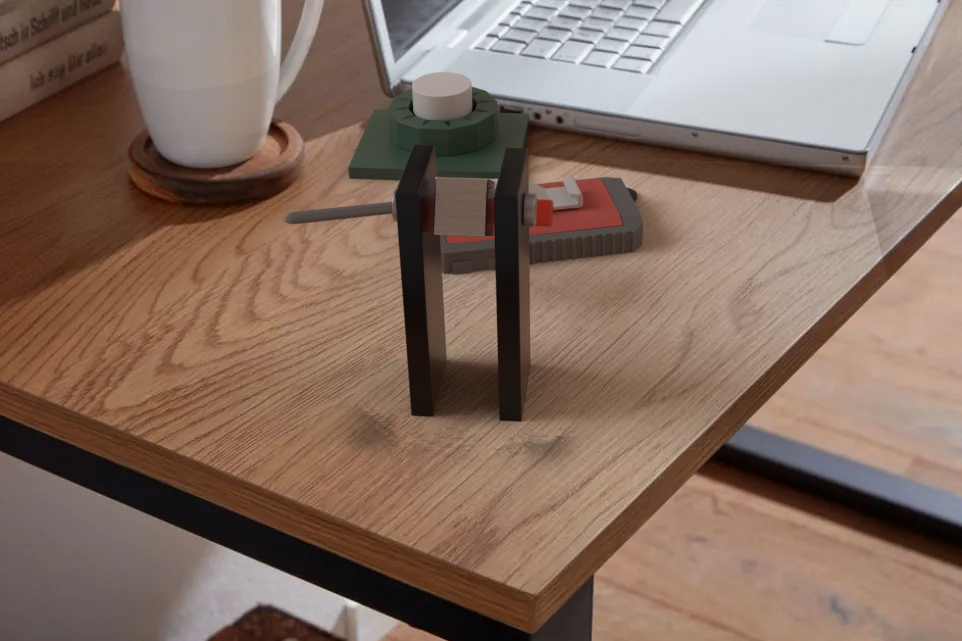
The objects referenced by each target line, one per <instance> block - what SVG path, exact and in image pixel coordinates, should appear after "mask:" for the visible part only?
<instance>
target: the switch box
mask: <svg viewBox="0 0 962 641" xmlns="http://www.w3.org/2000/svg"><path fill="white" fill-rule="evenodd" d="M529 126H530V114H529V113H517V112H516V113H511V112H498V100H497V99H496V98H494V97H493V95H492V94H490V93H489V92H488V91H487V90H485V89H481V88H479V87H476V86H472V112H471V113H470V114H468V115H466V116H465V117H462V118H457V119H452V120H427V119H423V118H420V117H417V116H415V114H414V111H413V95H412V88H410V89H407V90H406V91H404V92H402V93H400V94H399V95H396V96H394V97H393V98H392V100H391V102H390V104H389V107H388V109H373V110H372V113H371V115H370V117H369V119H368V121H367V124H366V126H365V128H364V131H363V133H362V135H361V137H360V140H359V142H358V144H357V146H356V149H355V152H353V156H352V158H351V160H350V162H349V164H348V167H347V171H348V178H349V179H350V180H373V181H400V179H401V176H402V173H403V171H404V168H405V165H406V163H407V160H408V157H409V154H410V152H411V149H412V146H413V145H434V146H435V149H436V168H437V177H459V178H487V179H498V176H499V172H500V168H501V164H502V160H503V155H504V151H505V148H507V147H508V148H525V144H526V139H527V134H528V130H529Z"/></svg>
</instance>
